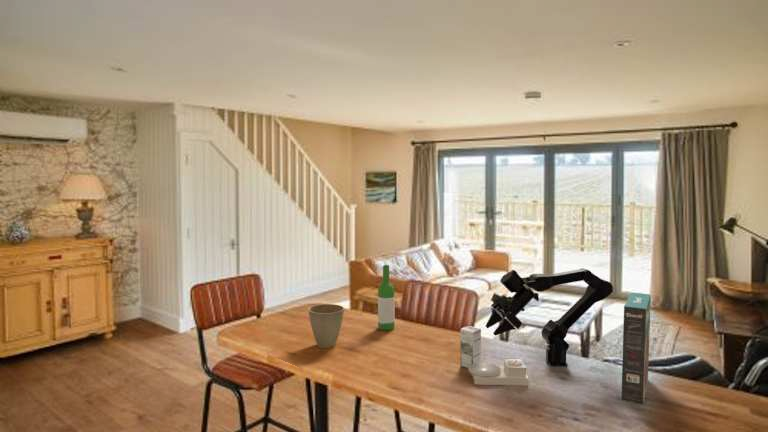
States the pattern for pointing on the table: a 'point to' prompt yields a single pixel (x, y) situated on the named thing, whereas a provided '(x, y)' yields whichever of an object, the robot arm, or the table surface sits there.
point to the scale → (500, 373)
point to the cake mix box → (635, 347)
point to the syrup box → (470, 346)
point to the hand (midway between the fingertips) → (490, 330)
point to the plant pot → (326, 323)
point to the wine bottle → (386, 302)
